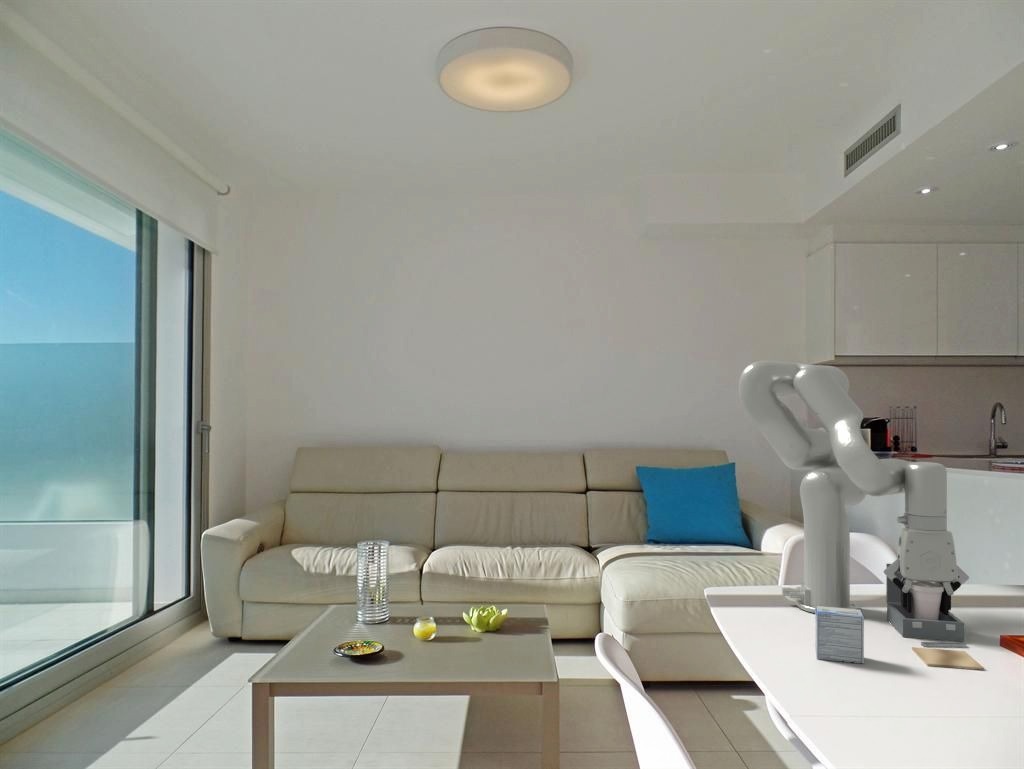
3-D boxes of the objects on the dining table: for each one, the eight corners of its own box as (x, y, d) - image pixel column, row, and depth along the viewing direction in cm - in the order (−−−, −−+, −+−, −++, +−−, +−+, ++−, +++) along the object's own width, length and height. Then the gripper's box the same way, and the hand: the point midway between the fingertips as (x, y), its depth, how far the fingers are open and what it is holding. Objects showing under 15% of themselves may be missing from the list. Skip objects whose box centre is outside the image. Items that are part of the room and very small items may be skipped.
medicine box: (861, 657, 138) (861, 609, 138) (864, 665, 134) (864, 615, 134) (814, 651, 140) (815, 605, 141) (816, 659, 136) (816, 611, 136)
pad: (927, 665, 133) (927, 663, 133) (911, 649, 142) (911, 647, 142) (983, 670, 131) (983, 667, 131) (964, 653, 140) (964, 651, 140)
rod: (923, 648, 144) (923, 643, 144) (921, 647, 145) (921, 641, 145) (966, 649, 144) (966, 644, 144) (963, 647, 145) (963, 642, 145)
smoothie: (942, 629, 155) (942, 561, 155) (945, 638, 149) (945, 567, 149) (906, 625, 157) (907, 557, 158) (908, 633, 152) (909, 563, 152)
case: (903, 637, 149) (903, 577, 149) (886, 619, 162) (886, 563, 162) (965, 641, 147) (965, 580, 147) (942, 623, 159) (942, 566, 159)
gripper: (884, 524, 152) (884, 614, 151) (980, 528, 148) (980, 620, 148) (875, 518, 159) (874, 604, 159) (965, 522, 155) (965, 610, 155)
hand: (925, 611), depth 153 cm, fingers closed on smoothie, 6 cm apart
